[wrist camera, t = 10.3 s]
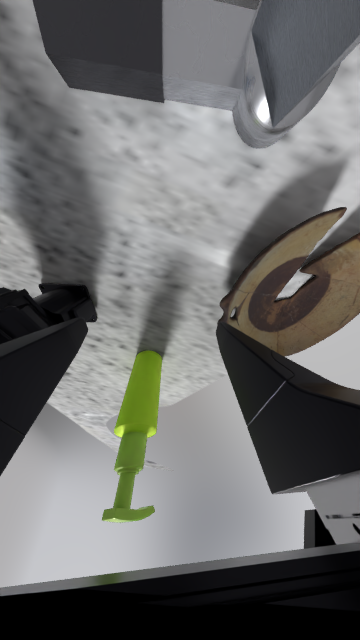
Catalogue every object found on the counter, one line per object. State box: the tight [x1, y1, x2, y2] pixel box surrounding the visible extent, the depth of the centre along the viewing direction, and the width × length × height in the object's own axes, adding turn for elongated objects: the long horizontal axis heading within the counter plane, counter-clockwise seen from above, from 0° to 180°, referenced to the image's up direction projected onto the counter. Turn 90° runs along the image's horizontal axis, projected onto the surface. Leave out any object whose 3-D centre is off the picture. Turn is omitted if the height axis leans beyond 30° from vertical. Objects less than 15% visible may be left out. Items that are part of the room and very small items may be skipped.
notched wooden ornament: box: [218, 207, 360, 357], centre depth 20 cm, size 22×30×8 cm
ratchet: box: [33, 0, 340, 148], centre depth 9 cm, size 21×7×6 cm, turn 86°
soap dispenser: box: [102, 351, 162, 522], centre depth 21 cm, size 6×7×20 cm
